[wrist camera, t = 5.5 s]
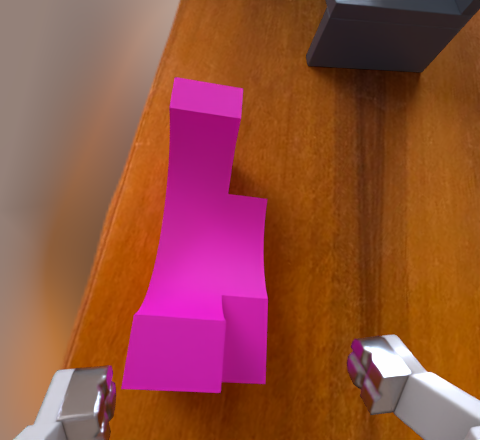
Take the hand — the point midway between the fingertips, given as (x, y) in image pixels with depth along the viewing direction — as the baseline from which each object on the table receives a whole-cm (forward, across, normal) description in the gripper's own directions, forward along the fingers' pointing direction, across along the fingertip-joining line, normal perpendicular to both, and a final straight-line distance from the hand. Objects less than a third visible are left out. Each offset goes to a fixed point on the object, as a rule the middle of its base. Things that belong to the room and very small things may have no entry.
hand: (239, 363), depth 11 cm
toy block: (+12, 0, +3) cm, 12 cm away
